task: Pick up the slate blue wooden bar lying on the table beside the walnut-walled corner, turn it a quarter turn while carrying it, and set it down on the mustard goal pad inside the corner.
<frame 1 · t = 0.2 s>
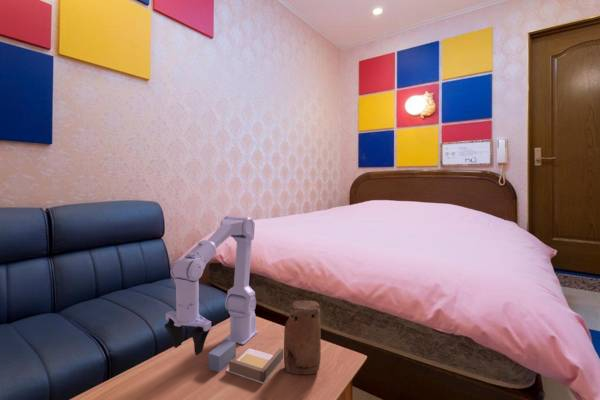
hand: (188, 349, 79), 10 cm above the table, tool pointing down, fingers open, 7 cm apart
brown tall cylinder: (301, 369, 87), on the table
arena: (255, 364, 88), on the table
bar: (222, 363, 89), on the table
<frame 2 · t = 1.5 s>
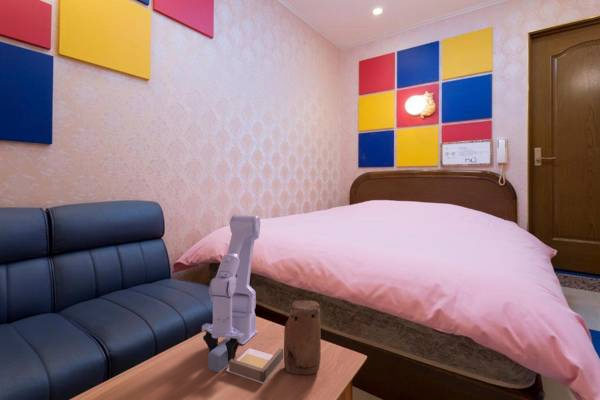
hand: (222, 358, 89), 1 cm above the table, tool pointing down, fingers open, 6 cm apart
nothing on the table moved.
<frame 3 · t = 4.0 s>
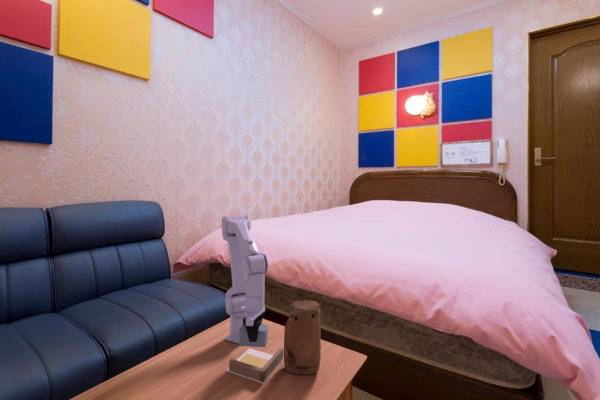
hand: (254, 337, 88), 8 cm above the table, tool pointing down, fingers closed on bar, 4 cm apart
bar: (253, 342, 89), point 6 cm above the table, touching gripper
everything else where it was.
when the fingers open (3 cm above the table, at t = 5.8 s): bar stays where it is, resting on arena.
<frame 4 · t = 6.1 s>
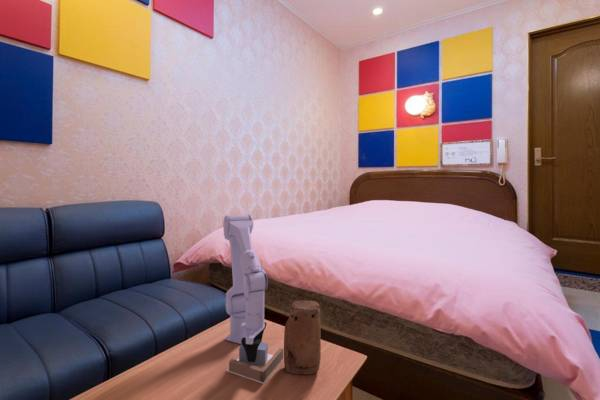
hand: (254, 353, 89), 3 cm above the table, tool pointing down, fingers open, 7 cm apart
bar: (253, 361, 89), point 1 cm above the table, touching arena
everything else where it was.
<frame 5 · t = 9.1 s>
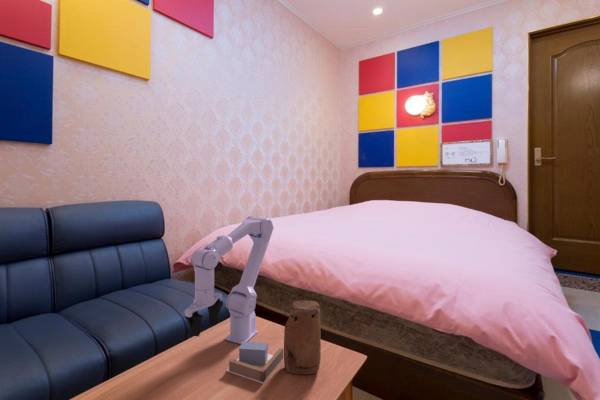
hand: (204, 329, 90), 9 cm above the table, tool pointing down, fingers open, 7 cm apart
nothing on the table moved.
at the end: bar 0.2 cm from the target spot, point 0.6 cm above the table; bar tilted 0°; the gripper is holding nothing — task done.
